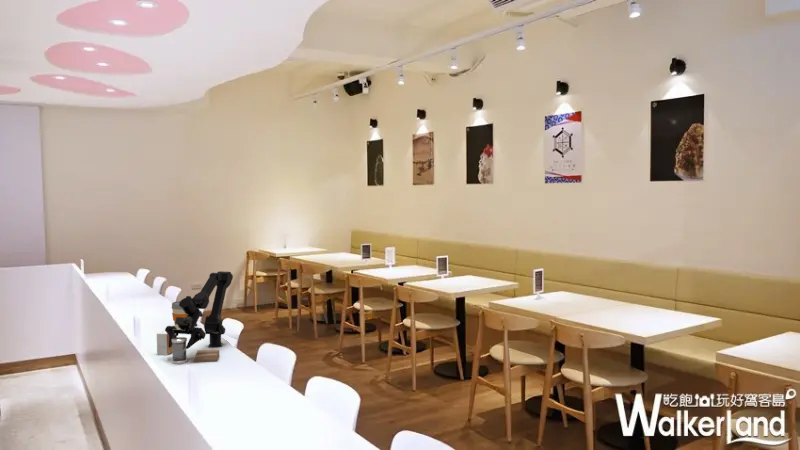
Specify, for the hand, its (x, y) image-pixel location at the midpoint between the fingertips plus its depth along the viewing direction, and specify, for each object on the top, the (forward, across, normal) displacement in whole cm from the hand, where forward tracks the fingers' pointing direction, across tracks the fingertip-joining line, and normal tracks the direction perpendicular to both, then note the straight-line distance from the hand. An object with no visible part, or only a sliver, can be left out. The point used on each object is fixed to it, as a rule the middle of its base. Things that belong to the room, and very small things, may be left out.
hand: (177, 347), depth 272 cm
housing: (+4, 0, +6) cm, 7 cm away
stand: (-1, +10, +11) cm, 15 cm away
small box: (-5, -16, +15) cm, 22 cm away
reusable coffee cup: (-40, -40, +49) cm, 75 cm away
